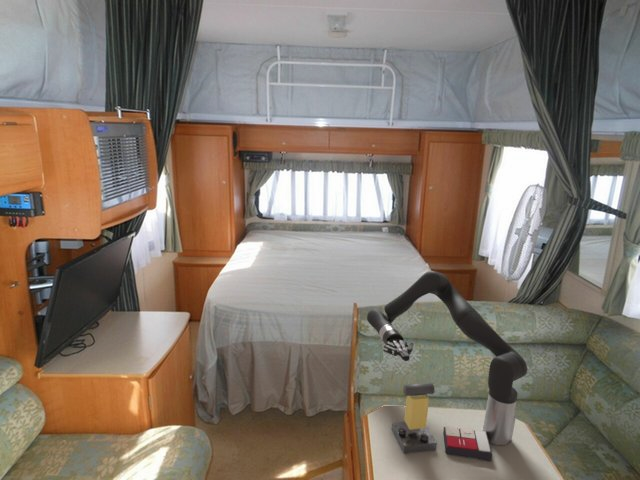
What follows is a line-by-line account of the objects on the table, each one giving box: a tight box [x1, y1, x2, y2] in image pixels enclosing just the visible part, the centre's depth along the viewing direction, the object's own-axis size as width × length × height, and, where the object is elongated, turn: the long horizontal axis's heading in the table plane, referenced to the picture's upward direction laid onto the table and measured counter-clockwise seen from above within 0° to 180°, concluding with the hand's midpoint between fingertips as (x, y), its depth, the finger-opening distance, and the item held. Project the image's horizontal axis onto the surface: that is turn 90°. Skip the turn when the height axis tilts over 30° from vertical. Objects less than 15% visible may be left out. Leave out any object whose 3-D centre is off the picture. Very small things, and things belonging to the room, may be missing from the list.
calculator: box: [442, 426, 493, 462], centre depth 150 cm, size 11×4×15 cm
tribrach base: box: [391, 421, 438, 454], centre depth 153 cm, size 12×12×4 cm
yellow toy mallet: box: [402, 382, 435, 432], centre depth 150 cm, size 10×5×18 cm, turn 101°
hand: (407, 358), depth 158 cm, fingers closed
